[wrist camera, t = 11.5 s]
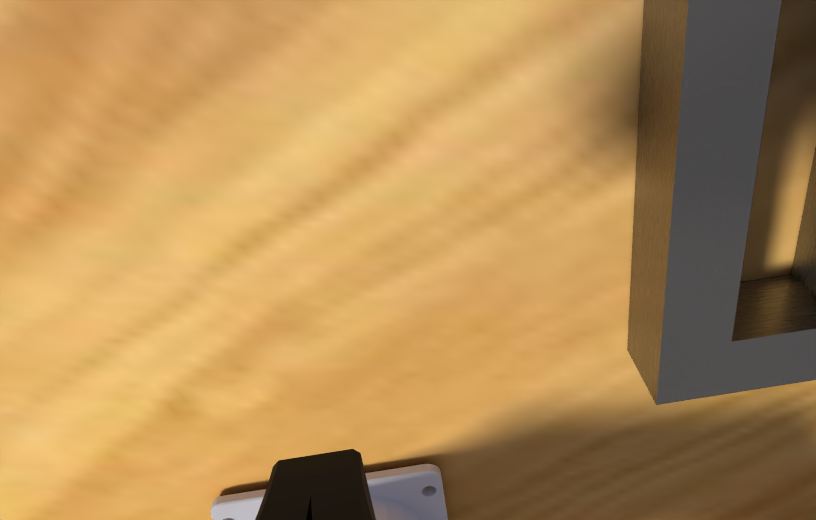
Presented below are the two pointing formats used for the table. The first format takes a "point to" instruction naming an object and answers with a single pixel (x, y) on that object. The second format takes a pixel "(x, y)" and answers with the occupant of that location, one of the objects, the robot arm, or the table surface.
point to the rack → (711, 210)
